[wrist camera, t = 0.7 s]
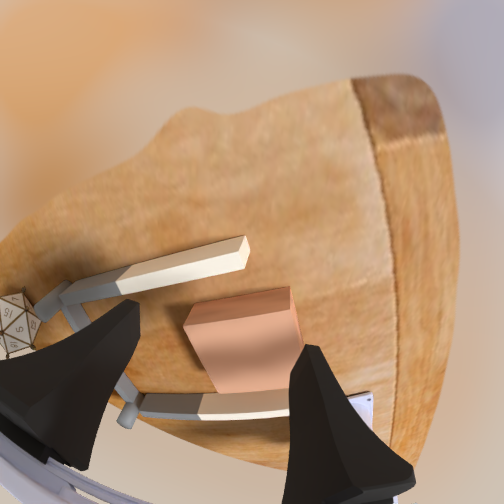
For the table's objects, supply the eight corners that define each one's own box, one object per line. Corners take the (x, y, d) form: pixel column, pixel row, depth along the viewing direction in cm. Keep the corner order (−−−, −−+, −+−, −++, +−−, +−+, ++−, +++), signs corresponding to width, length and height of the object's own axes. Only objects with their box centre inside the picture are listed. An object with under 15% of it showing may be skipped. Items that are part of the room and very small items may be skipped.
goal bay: (209, 401, 28) (199, 436, 23) (136, 400, 30) (122, 427, 25) (131, 260, 22) (99, 289, 17) (59, 281, 24) (31, 305, 19)
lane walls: (296, 392, 26) (296, 414, 23) (207, 399, 28) (201, 420, 25) (245, 235, 20) (238, 251, 17) (132, 264, 22) (115, 281, 19)
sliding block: (307, 356, 24) (308, 384, 21) (225, 367, 26) (219, 393, 22) (289, 283, 21) (290, 309, 18) (195, 301, 23) (182, 326, 20)
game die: (56, 305, 31) (41, 372, 26) (9, 285, 27) (-8, 350, 22) (45, 286, 24) (26, 372, 19) (-10, 262, 20) (-32, 343, 15)
